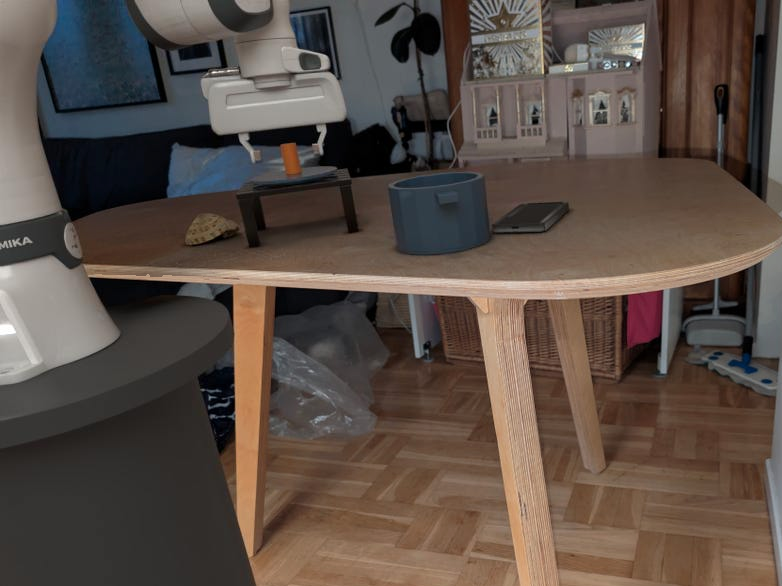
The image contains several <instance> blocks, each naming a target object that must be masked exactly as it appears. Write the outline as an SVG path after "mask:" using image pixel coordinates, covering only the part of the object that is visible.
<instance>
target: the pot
mask: <svg viewBox="0 0 782 586" xmlns="http://www.w3.org/2000/svg"><path fill="white" fill-rule="evenodd" d="M387 190H388V197H389V205H390V210H391V217H392V223H393V230H394V237H395V244H396V246H397V250H398V251H399V252H401V253H403V254H408V255H416V256H417V255H418V256H427V255H430V256H431V255H444V254H451V253H456V252H462V251H467V250H470V249H475V248H476V247H479V246H482V245H484V244H486V243H487V242H489V240H490V237H491V227H490V218H489V217H490V216H489V208H488V207H489V206H488V198H487V196H488V195H487V186H486V177H485V173H481V172H479V171H449V172H439V173H431V174H423V175H417V176H413V177H406V178H403V179H399V180H396V181H392V182H391V183H389V184H387Z"/></svg>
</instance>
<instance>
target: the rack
mask: <svg viewBox="0 0 782 586" xmlns="http://www.w3.org/2000/svg"><path fill="white" fill-rule="evenodd" d="M352 184H353V181H352V178H351V175H350V173H349V169H348V168H342V169H341V168H339V169H337V172H336V173H334V174H331V175H327V176H326V177H325V178H323V179H320V180H316V181H311V182H306V183H300V184H293V185H284V186H264V185H258V184H251V183H250V181H245V182H244V183H243V185H242V186H241V187H240V188H239V189H238V191H237V192H236V193H235V198H236V200H237V202H238V207H239V209H240V214H241V219H242V223H243V227H244V232H245V235H246V240H247V245H248V248H249V249H250V248H252V249H253V248H259V247H261V239H260V236H259V235H260V233H259V231H264V230H267V223H266V218H265V213H264V210H263V205H262V201H261V197H267V196H275V195H276V196H277V195H284V194H291V193H297V192H305V191H311V190H319V189H326V188H335V187H339V191H340V196H341V202H342V208H343V213H344V218H345V221H346V227H347V228H346V229H347V233H348V234H353V233H359V232H360V230H359V225H358V219H357V213H356V208H355V202H354V194H353V190H352Z"/></svg>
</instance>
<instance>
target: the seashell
mask: <svg viewBox="0 0 782 586" xmlns="http://www.w3.org/2000/svg"><path fill="white" fill-rule="evenodd" d="M241 228H242V227H240V225H239V224H238V223H236V222H234V221H233V220H230V219H226V218H225V217H224V216H222V215H218V214H214V213H208V212H200V213H199V214H198V215H197V216H196V217H195V218H194V219H193V221H192V222H191V225H190V226H189V228H188V231H187V233H186V235H185V238H184V240H185V245H187V246H192V245H199V244H202V243H206V242H209V241H211V240H214V239H215V238H217V237H219V236H221V237H222V239H226V238H227V237H231V236H234V235H235V234H236V233H238V232H239V231H240V230H241Z"/></svg>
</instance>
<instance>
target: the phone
mask: <svg viewBox="0 0 782 586" xmlns="http://www.w3.org/2000/svg"><path fill="white" fill-rule="evenodd" d="M569 210H570V205H569V201H552V202H551V201H550V202H549V201H548V202H526V203H525V202H524V203H520V204H519V205H517V206H515V207H514V208H513V209H511V210H509V211H508V212H507V213H506V214H503V215H502V216H501V217H499V218H498V219H497V220H495V221H494V222H492V223H491V228H492V233H495V234H505V233H506V234H508V233H540V232H545V231H547V230H548V229H550V228H551V227H552V226H553V225H554V224H556V222H557V221H559V220H560V219H561V218H562V217H563V216H565V214H566V213H568V212H569Z"/></svg>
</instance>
